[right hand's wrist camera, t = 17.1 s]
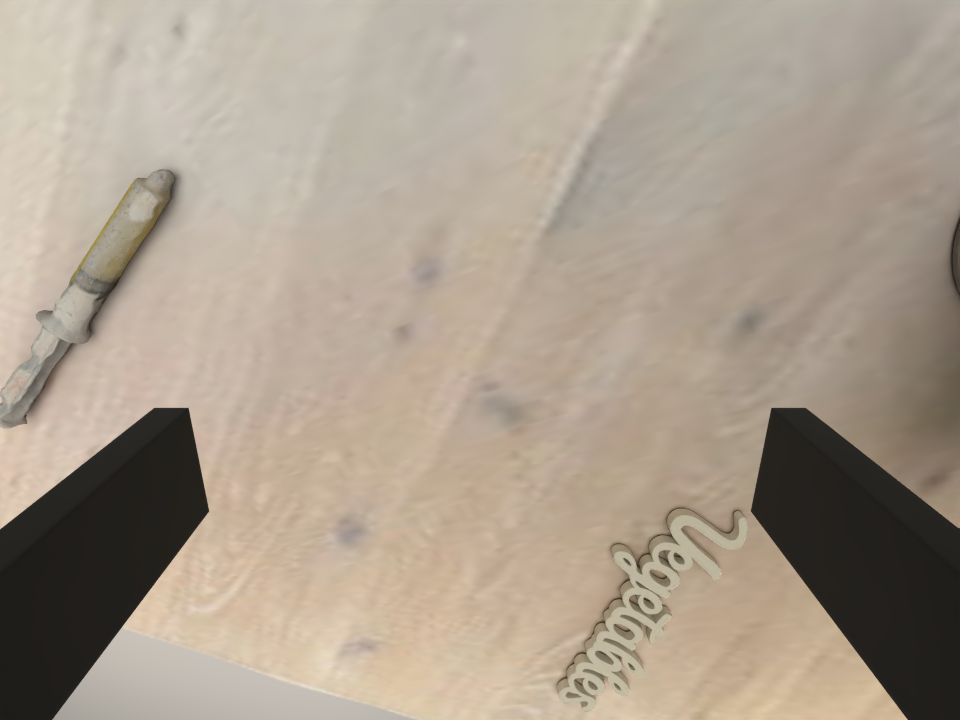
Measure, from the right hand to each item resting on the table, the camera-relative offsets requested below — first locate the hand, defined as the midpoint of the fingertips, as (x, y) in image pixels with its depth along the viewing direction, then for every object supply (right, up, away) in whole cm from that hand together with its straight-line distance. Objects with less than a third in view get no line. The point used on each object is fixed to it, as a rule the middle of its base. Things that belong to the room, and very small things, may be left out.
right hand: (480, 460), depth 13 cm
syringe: (-30, +7, +30) cm, 43 cm away
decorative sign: (+14, -21, +41) cm, 48 cm away
